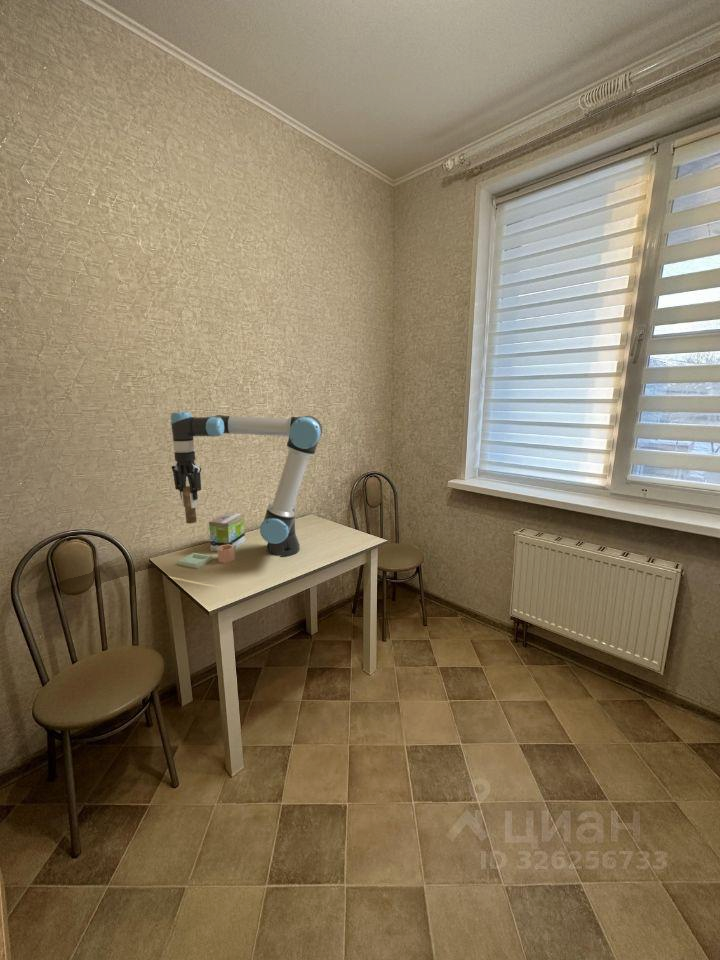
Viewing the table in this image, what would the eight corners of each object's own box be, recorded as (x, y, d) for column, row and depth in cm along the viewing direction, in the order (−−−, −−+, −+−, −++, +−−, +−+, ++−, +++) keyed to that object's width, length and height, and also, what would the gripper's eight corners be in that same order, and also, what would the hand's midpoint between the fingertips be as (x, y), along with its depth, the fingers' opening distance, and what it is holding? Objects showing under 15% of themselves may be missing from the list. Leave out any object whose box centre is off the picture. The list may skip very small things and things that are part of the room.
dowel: (198, 520, 161) (195, 486, 158) (191, 523, 157) (188, 488, 154) (191, 519, 162) (187, 485, 159) (184, 522, 159) (180, 487, 155)
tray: (212, 561, 166) (211, 555, 166) (197, 569, 158) (196, 564, 158) (194, 558, 170) (193, 552, 169) (178, 566, 162) (177, 560, 161)
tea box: (230, 553, 174) (227, 523, 171) (210, 552, 176) (207, 521, 173) (246, 541, 189) (244, 513, 185) (227, 540, 191) (225, 512, 187)
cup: (237, 559, 168) (236, 545, 167) (228, 565, 162) (226, 551, 161) (225, 557, 170) (224, 543, 169) (215, 563, 164) (214, 549, 163)
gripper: (207, 450, 154) (212, 506, 159) (175, 448, 160) (181, 502, 165) (194, 453, 147) (199, 511, 152) (160, 451, 153) (167, 507, 158)
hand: (190, 506), depth 158 cm, fingers closed on dowel, 4 cm apart
